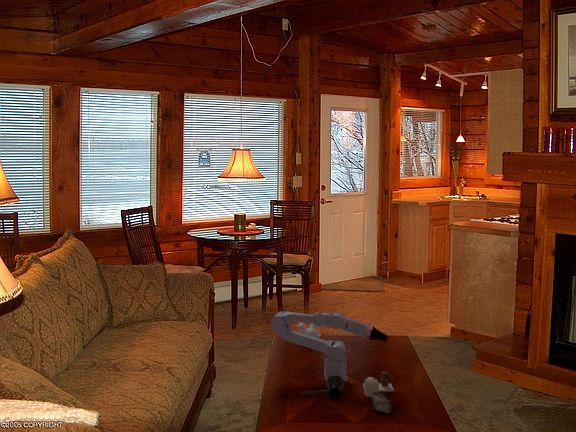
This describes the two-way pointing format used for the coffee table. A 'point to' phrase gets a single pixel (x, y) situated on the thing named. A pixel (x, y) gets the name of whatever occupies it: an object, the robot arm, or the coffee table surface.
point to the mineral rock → (381, 403)
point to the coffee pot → (330, 387)
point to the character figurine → (309, 330)
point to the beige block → (371, 387)
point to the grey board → (383, 387)
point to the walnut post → (384, 378)
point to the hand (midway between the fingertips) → (386, 338)
